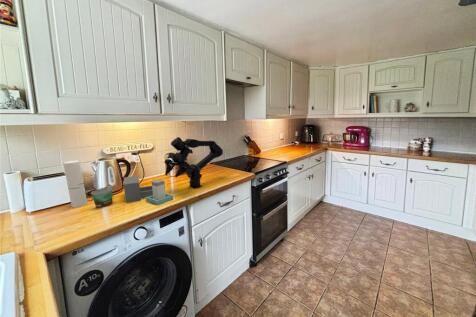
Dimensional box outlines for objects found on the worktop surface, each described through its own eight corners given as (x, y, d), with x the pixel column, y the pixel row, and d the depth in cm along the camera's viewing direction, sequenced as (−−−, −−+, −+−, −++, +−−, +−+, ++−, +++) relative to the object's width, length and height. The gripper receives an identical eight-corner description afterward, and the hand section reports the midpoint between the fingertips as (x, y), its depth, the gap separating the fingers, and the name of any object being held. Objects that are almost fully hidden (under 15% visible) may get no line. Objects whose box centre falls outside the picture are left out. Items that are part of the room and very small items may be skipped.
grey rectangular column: (90, 203, 125) (82, 160, 120) (77, 208, 118) (69, 163, 114) (81, 201, 127) (73, 160, 122) (68, 206, 121) (60, 163, 116)
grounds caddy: (160, 197, 130) (159, 179, 127) (166, 198, 127) (164, 180, 125) (153, 199, 126) (151, 181, 123) (158, 201, 123) (156, 183, 121)
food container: (103, 209, 116) (100, 191, 114) (93, 208, 117) (90, 191, 115) (120, 200, 127) (117, 184, 125) (111, 200, 129) (108, 184, 127)
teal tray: (162, 195, 133) (161, 191, 133) (173, 199, 127) (172, 195, 127) (146, 201, 125) (146, 197, 124) (157, 205, 119) (157, 201, 118)
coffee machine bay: (154, 189, 145) (153, 173, 143) (157, 197, 131) (155, 179, 129) (126, 194, 138) (124, 177, 136) (126, 202, 124) (123, 184, 122)
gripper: (165, 146, 138) (151, 167, 131) (185, 148, 127) (172, 170, 121) (176, 156, 146) (163, 176, 139) (196, 159, 135) (184, 180, 128)
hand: (170, 176), depth 131 cm, fingers open, 9 cm apart
